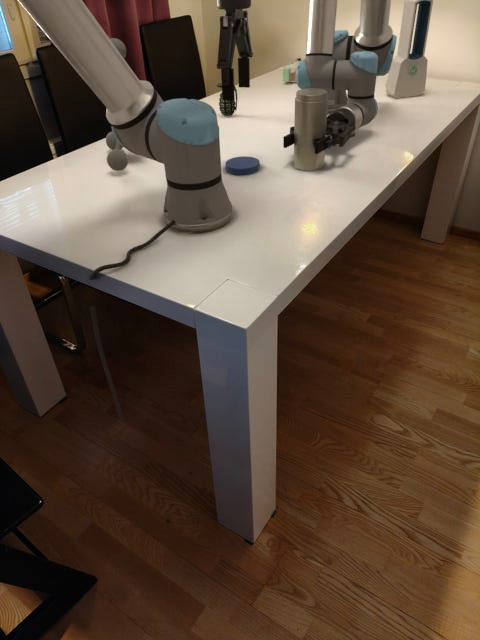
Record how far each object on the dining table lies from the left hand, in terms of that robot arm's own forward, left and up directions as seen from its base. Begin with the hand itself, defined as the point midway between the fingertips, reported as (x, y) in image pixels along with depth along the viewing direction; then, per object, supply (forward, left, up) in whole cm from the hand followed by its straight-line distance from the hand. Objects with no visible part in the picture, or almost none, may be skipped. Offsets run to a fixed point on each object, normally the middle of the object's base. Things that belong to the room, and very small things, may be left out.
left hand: (236, 93), depth 117 cm
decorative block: (+102, +21, -19) cm, 106 cm away
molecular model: (-2, +31, -19) cm, 37 cm away
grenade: (+43, +28, -19) cm, 55 cm away
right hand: (+5, -15, -12) cm, 20 cm away
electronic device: (+87, -22, -19) cm, 92 cm away
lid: (+1, 0, -18) cm, 17 cm away
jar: (+9, -16, -19) cm, 26 cm away
